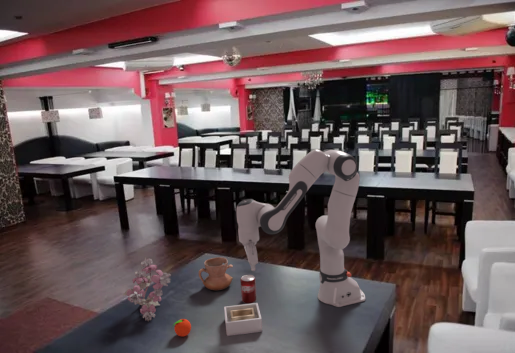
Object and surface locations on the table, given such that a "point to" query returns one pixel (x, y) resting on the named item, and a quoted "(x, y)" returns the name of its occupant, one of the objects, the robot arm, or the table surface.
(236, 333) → the grey crate
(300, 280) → the table surface
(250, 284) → the soda can
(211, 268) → the ceramic jug
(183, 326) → the clementine
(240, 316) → the birch crate
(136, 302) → the flower
